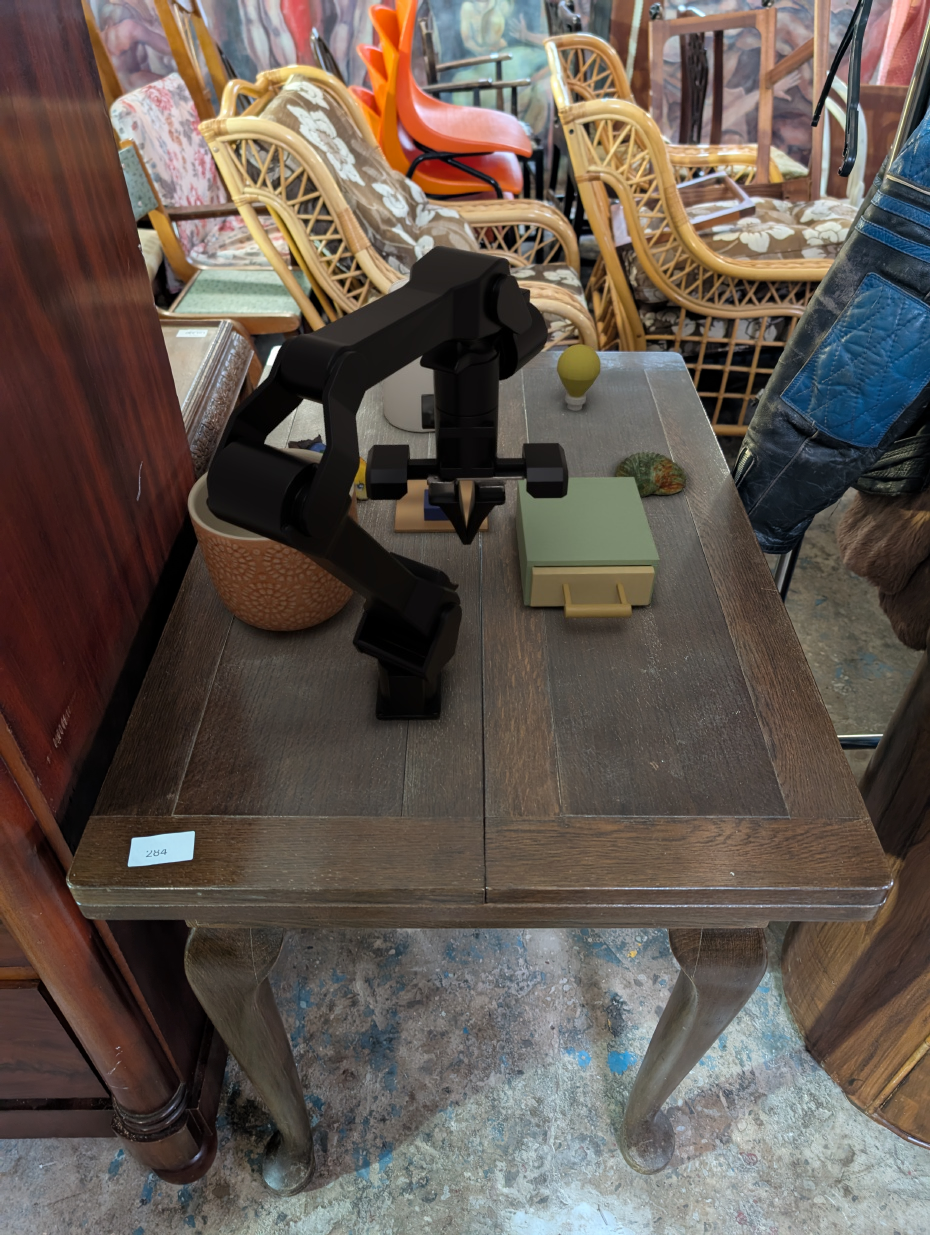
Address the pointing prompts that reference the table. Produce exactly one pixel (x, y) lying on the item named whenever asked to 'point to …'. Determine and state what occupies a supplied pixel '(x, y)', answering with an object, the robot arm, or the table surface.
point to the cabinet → (584, 527)
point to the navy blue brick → (432, 511)
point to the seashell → (652, 473)
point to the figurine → (320, 447)
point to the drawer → (592, 589)
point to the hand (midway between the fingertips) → (466, 542)
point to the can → (406, 390)
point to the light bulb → (578, 373)
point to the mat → (413, 510)
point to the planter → (265, 570)
